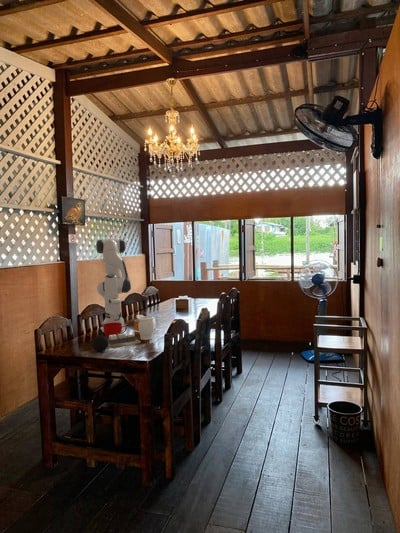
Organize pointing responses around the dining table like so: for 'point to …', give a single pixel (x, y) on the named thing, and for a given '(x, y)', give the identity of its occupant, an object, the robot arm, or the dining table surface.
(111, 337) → the button one
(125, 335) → the button two
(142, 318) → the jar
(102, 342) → the speaker
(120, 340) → the button board
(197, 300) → the dining table surface
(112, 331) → the ceramic cup
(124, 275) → the robot arm
